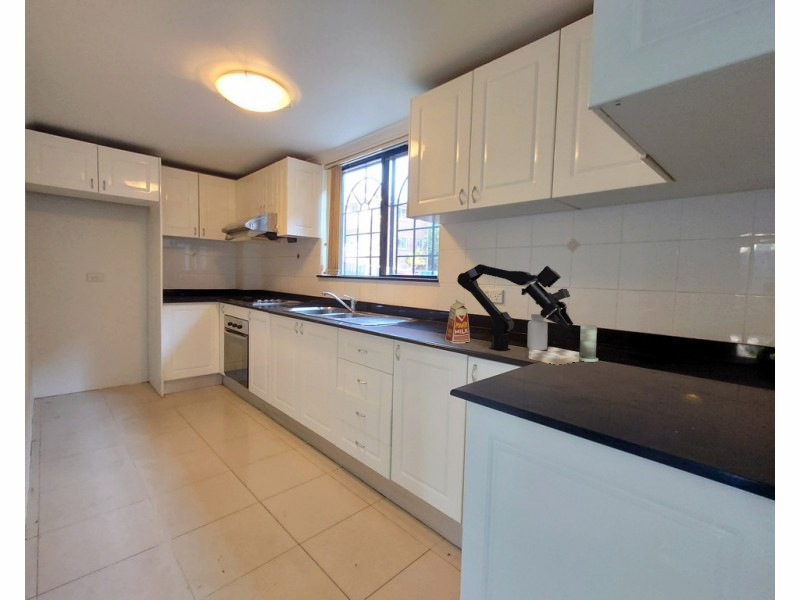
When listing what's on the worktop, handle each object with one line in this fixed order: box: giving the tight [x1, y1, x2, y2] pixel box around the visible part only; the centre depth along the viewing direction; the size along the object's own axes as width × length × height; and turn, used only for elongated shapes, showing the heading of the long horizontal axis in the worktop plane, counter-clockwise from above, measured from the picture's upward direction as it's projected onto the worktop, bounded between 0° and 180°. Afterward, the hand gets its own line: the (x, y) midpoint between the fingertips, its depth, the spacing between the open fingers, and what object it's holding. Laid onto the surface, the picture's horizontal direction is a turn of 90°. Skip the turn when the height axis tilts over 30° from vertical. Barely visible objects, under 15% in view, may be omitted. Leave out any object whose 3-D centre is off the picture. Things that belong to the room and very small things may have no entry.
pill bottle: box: [526, 313, 549, 351], centre depth 147 cm, size 8×8×15 cm
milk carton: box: [444, 299, 470, 344], centre depth 161 cm, size 9×9×20 cm
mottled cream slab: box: [528, 346, 580, 366], centre depth 125 cm, size 12×12×4 cm
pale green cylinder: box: [579, 324, 599, 363], centre depth 125 cm, size 7×7×13 cm
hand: (570, 325), depth 128 cm, fingers open, 9 cm apart
